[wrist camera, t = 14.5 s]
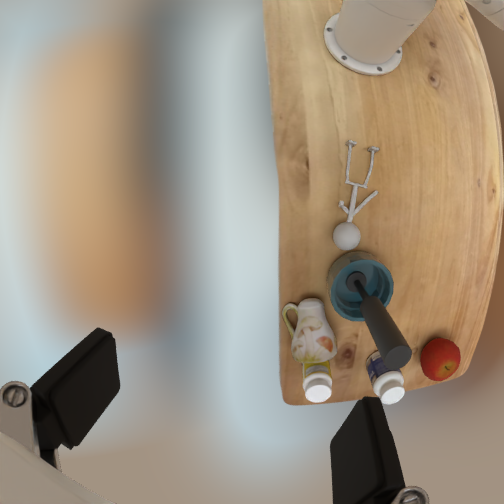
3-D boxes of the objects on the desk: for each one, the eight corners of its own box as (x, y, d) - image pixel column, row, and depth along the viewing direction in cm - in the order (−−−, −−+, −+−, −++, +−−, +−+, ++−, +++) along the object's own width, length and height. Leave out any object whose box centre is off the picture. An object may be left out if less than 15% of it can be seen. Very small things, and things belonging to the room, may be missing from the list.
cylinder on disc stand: (356, 266, 39) (403, 337, 20) (369, 280, 39) (419, 355, 20) (341, 281, 40) (375, 360, 21) (355, 294, 40) (393, 376, 21)
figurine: (394, 146, 30) (375, 260, 33) (379, 153, 36) (362, 252, 39) (349, 134, 30) (329, 251, 33) (340, 143, 36) (323, 244, 39)
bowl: (357, 237, 38) (365, 245, 34) (393, 277, 39) (405, 289, 34) (313, 280, 41) (316, 293, 36) (352, 316, 42) (358, 332, 37)
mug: (329, 284, 41) (352, 338, 33) (320, 320, 47) (337, 369, 40) (282, 292, 40) (299, 351, 33) (279, 328, 47) (292, 379, 39)
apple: (426, 327, 40) (444, 351, 33) (455, 332, 40) (473, 354, 32) (408, 362, 43) (422, 387, 35) (437, 364, 42) (452, 388, 35)
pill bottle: (362, 356, 43) (374, 392, 34) (389, 344, 42) (406, 378, 33) (369, 375, 44) (380, 411, 35) (394, 364, 43) (410, 398, 34)
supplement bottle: (321, 374, 45) (325, 406, 37) (298, 368, 46) (297, 401, 37) (333, 355, 44) (339, 387, 36) (308, 348, 44) (310, 380, 36)
